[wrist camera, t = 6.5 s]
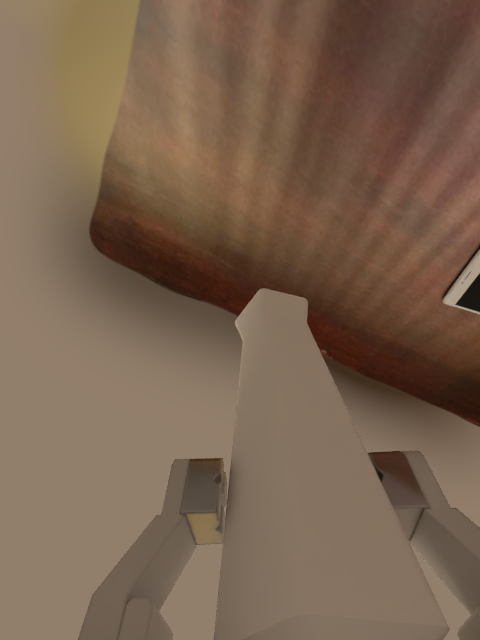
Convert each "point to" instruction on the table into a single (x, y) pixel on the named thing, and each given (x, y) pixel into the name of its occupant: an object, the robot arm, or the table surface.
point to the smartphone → (466, 288)
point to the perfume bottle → (309, 504)
